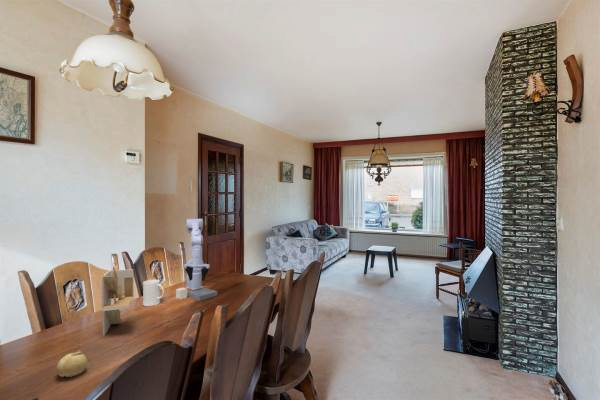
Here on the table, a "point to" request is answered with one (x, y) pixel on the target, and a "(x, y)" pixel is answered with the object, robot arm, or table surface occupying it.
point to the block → (181, 293)
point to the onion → (71, 364)
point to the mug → (151, 292)
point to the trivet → (202, 294)
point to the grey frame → (116, 295)
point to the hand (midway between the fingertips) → (197, 280)
